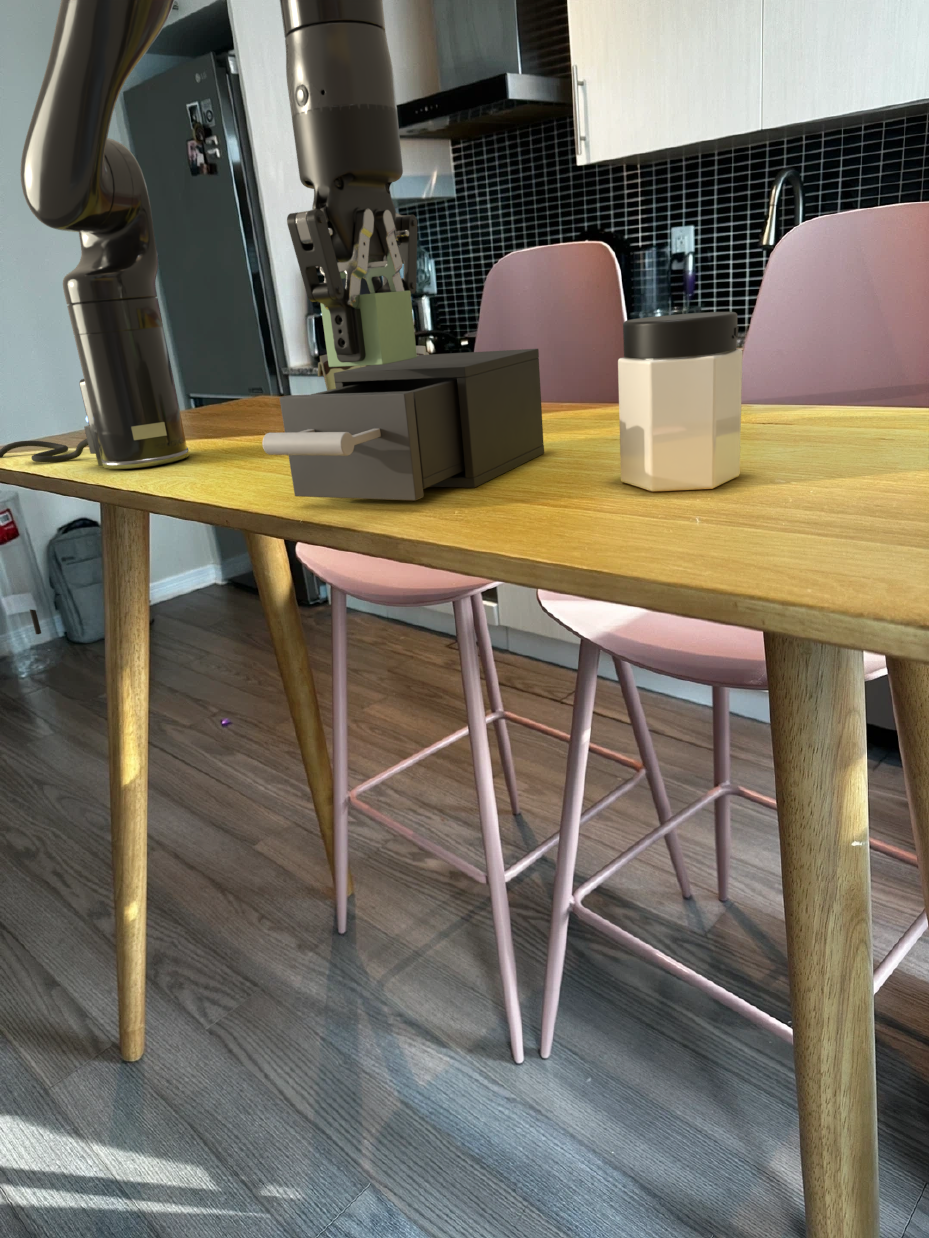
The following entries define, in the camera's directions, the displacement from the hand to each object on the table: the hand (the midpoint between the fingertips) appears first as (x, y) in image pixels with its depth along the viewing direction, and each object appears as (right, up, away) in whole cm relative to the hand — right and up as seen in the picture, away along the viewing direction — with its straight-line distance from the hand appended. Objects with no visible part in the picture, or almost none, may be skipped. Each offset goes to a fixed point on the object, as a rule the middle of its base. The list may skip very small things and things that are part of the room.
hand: (372, 356), depth 69 cm
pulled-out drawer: (0, -10, +3) cm, 10 cm away
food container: (-1, -1, +30) cm, 30 cm away
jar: (+24, -10, 0) cm, 26 cm away
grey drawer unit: (+6, -7, +12) cm, 15 cm away
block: (0, 0, 0) cm, 0 cm away
